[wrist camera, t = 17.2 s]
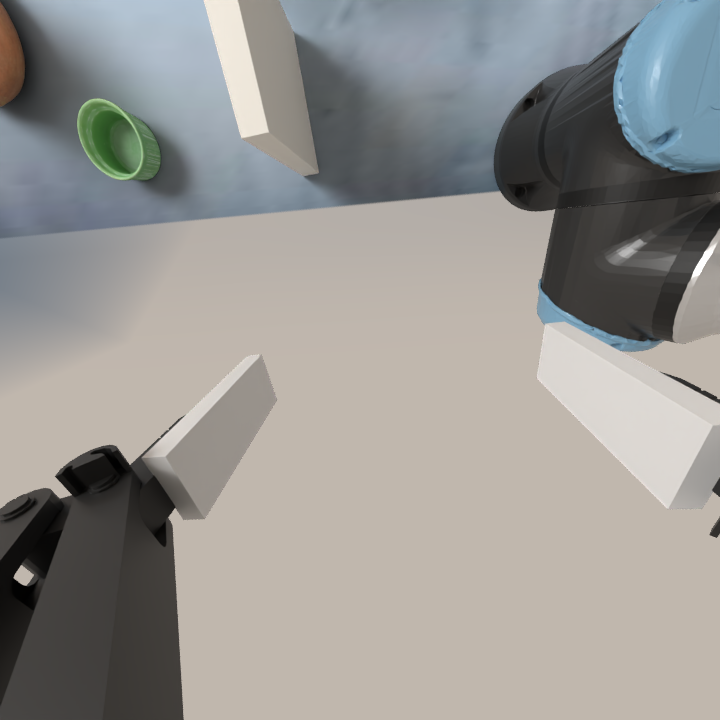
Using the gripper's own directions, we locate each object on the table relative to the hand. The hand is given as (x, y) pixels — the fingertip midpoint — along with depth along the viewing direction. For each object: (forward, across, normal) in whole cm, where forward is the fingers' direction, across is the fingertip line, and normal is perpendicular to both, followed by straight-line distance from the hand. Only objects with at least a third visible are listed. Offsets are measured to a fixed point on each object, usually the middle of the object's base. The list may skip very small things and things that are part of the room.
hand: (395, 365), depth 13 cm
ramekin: (+37, +36, -22) cm, 56 cm away
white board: (+37, +10, -22) cm, 44 cm away
